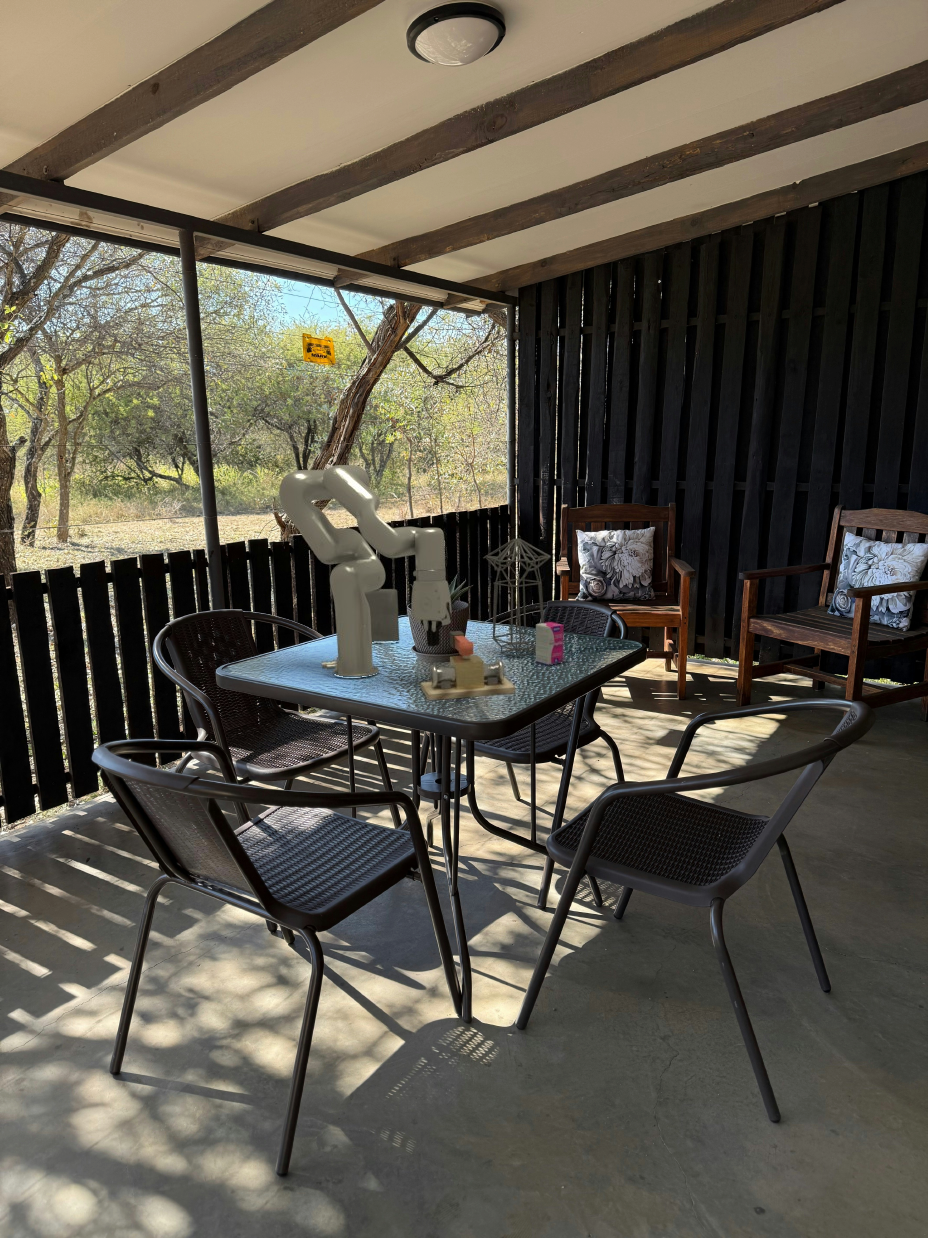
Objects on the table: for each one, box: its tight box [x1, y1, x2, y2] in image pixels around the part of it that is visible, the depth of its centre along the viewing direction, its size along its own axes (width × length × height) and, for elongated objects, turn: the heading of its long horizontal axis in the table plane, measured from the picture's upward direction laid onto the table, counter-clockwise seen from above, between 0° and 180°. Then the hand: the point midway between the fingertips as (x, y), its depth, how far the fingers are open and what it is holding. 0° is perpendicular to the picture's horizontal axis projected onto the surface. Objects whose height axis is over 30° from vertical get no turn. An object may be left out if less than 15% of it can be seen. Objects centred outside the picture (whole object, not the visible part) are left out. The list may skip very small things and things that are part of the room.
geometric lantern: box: [482, 537, 552, 658], centre depth 241 cm, size 16×16×35 cm
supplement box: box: [535, 621, 564, 667], centre depth 230 cm, size 6×6×12 cm
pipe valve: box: [429, 654, 505, 690], centre depth 203 cm, size 18×8×8 cm, turn 102°
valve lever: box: [449, 630, 475, 659], centre depth 208 cm, size 16×4×4 cm, turn 12°
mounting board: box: [420, 676, 517, 701], centre depth 204 cm, size 22×12×2 cm, turn 102°
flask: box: [365, 588, 400, 642], centre depth 265 cm, size 15×6×20 cm, turn 96°
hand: (433, 645), depth 211 cm, fingers closed
